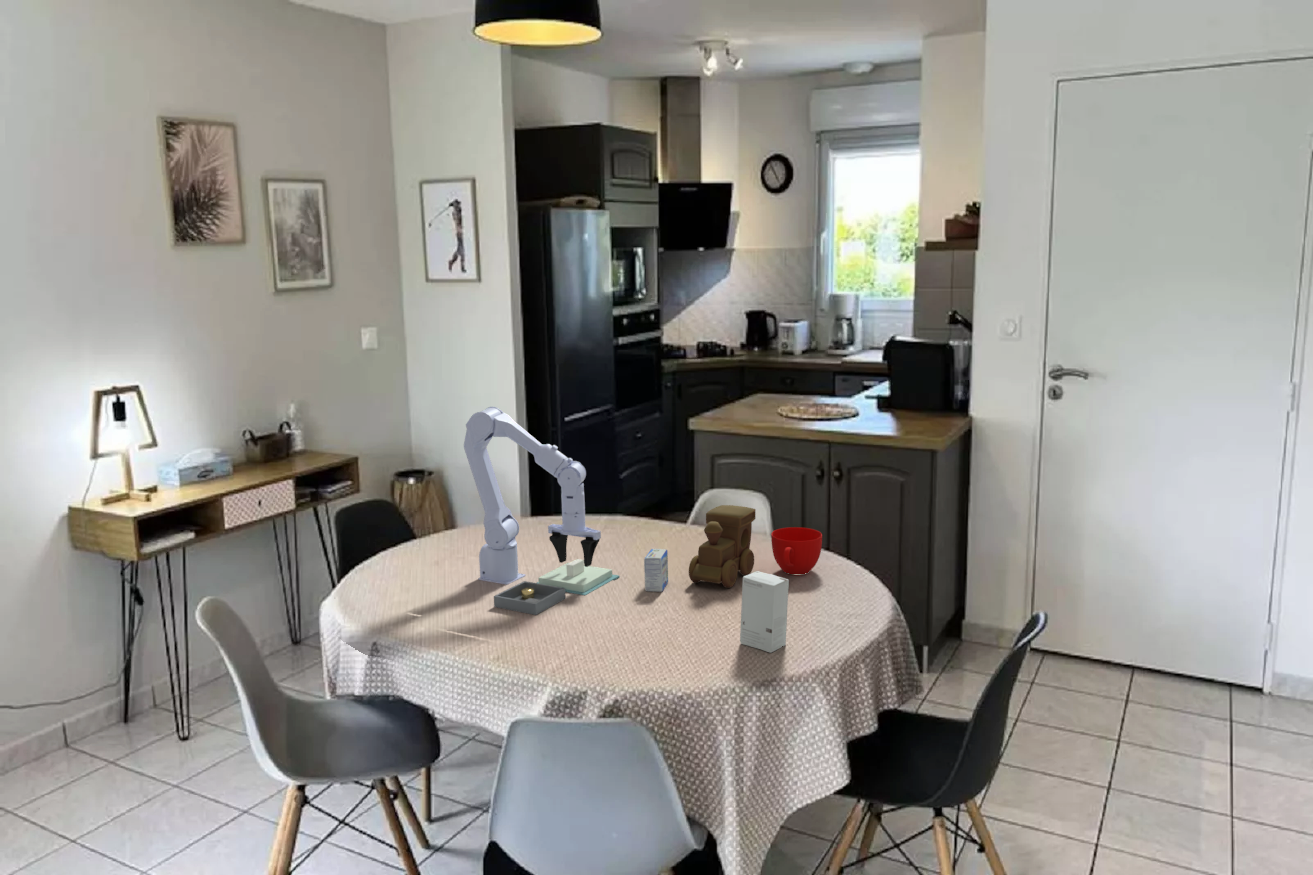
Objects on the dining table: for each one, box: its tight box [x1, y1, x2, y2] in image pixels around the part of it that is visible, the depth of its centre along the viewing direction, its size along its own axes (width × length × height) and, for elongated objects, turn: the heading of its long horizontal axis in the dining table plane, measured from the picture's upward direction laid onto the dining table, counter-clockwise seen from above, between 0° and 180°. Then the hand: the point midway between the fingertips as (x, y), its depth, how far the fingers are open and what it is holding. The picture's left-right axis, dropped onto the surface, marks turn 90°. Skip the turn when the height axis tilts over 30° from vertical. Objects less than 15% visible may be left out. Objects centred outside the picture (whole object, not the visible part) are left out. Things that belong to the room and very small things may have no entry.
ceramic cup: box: [770, 526, 823, 575], centre depth 247 cm, size 13×17×10 cm
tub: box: [493, 580, 566, 616], centre depth 230 cm, size 12×12×3 cm
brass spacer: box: [521, 588, 534, 600], centre depth 233 cm, size 3×3×2 cm
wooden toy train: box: [688, 504, 756, 589], centre depth 245 cm, size 20×11×17 cm, turn 151°
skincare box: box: [739, 570, 790, 654], centre depth 202 cm, size 8×6×15 cm
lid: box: [537, 558, 613, 592], centre depth 245 cm, size 13×13×5 cm
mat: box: [536, 573, 621, 596], centre depth 245 cm, size 16×16×1 cm
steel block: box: [525, 598, 539, 603], centre depth 227 cm, size 4×2×2 cm, turn 61°
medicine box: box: [643, 548, 669, 593], centre depth 240 cm, size 8×4×9 cm, turn 168°
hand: (575, 563), depth 244 cm, fingers open, 7 cm apart
